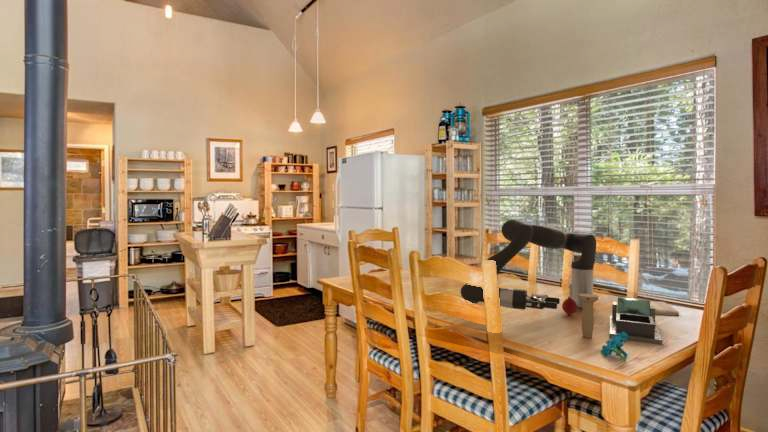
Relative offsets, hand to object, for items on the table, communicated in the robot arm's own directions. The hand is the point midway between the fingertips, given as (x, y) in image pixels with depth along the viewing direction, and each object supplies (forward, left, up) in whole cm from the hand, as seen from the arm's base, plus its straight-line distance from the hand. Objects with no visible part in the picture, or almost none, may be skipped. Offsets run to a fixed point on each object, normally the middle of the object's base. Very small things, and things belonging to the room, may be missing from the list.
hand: (558, 303), depth 166 cm
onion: (-3, +27, -11) cm, 30 cm away
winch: (+22, +20, -11) cm, 32 cm away
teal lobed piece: (+21, -13, -11) cm, 28 cm away
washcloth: (+25, +60, -12) cm, 66 cm away
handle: (+10, +1, -11) cm, 15 cm away
